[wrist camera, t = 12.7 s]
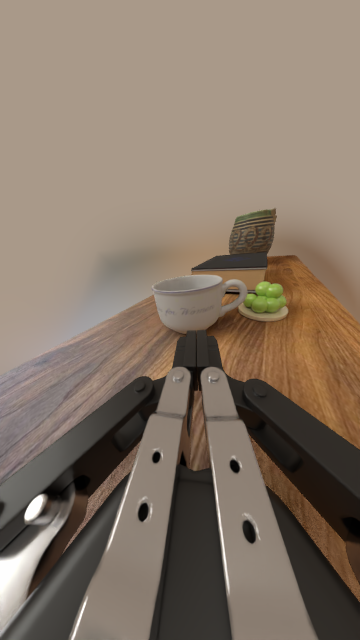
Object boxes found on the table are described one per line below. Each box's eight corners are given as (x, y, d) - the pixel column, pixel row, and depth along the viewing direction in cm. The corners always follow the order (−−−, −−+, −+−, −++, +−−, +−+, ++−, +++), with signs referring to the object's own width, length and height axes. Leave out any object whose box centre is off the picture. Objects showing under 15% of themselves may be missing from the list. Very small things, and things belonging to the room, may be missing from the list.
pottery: (223, 268, 63) (225, 216, 53) (233, 261, 75) (236, 218, 65) (266, 267, 54) (278, 204, 44) (270, 260, 66) (280, 209, 56)
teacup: (149, 334, 23) (135, 289, 19) (178, 307, 31) (173, 272, 27) (236, 356, 16) (244, 295, 12) (244, 315, 24) (251, 270, 20)
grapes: (254, 325, 21) (260, 293, 19) (230, 305, 28) (232, 280, 26) (299, 316, 22) (312, 284, 19) (265, 299, 29) (271, 274, 26)
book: (192, 292, 38) (190, 268, 35) (216, 272, 57) (216, 255, 53) (261, 296, 30) (267, 266, 27) (263, 271, 49) (266, 251, 45)
